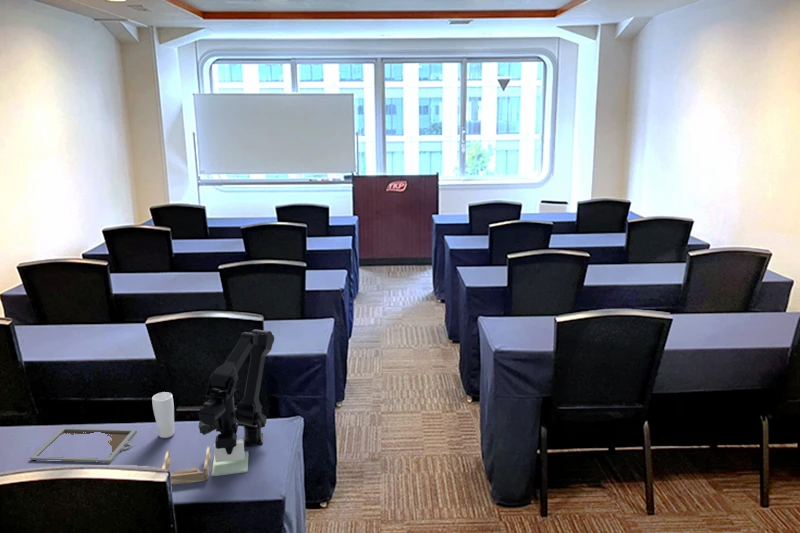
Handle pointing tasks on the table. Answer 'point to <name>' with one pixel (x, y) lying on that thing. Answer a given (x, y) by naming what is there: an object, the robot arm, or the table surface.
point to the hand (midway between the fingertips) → (229, 451)
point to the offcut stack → (186, 471)
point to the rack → (189, 476)
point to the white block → (235, 455)
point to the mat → (230, 466)
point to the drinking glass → (164, 413)
